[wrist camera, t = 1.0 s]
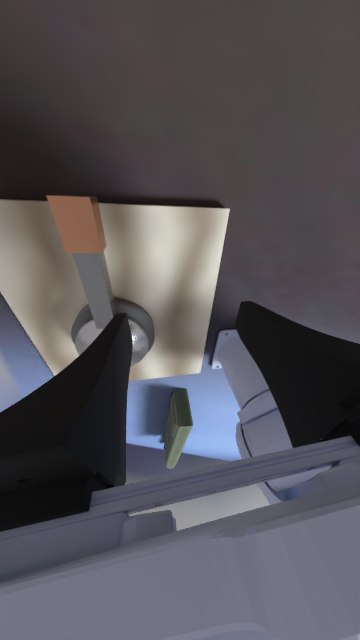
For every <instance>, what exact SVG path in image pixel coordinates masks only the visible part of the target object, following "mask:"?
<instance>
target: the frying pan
mask: <svg viewBox="0 0 360 640" xmlns="http://www.w3.org/2000/svg"><path fill="white" fill-rule="evenodd" d="M46 197H47V200H48V203H49V205H50V208H51V211H52V214H53V217H54V220H55V223H56V226H57V229H58V232H59V235H60V237H61V240H62V243H63V246H64V249H65V252H66V253H72V254H73V257H74V260H75V263H76V266H77V269H78V273H79V276H80V279H81V282H82V285H83V288H84V291H85V294H86V297H87V301H88V304H89V307H90V310H91V313H92V316H93V317H92V318H90V319H88V320H87V321H86V322H84V323H83V325H82V326H81V327H80V329H79V331H78V334H77V336H76V338H75V348H76V351H77V352H78V354H79V355H80V354H81V353H83V352H84V351H85V350H86V349H87V348H88V346H89V345H90V344H91V343H92V342H93V341H94V340H95V339H96V338H97V337H98V335H99V334H100V333H101V332H102V331H103V329H104V328H105V327H106V326H107V324H108V323H109V322H110V321H111V319H112V318H113V317H114V316H115V314H117V311H116V306H115V302H114V297H113V292H112V288H111V283H110V278H109V274H108V269H107V264H106V260H105V255H104V249H105V248H106V247H107V245H106V240H105V235H104V230H103V225H102V220H101V215H100V210H99V205H98V200H97V196H76V195H46ZM127 317H128V316H127ZM128 321H129V325H130V329H131V334H132V338H133V349H132V360H131V366H133V365H135V364H137V363H139V362H140V361H141V360H142V359H143V358H144V357H145V356H146V354H147V352H148V334H147V332H146V330H145V328H144V327H143V326H142V325H141V324H140V323H139V322H138V321H136V320H135V319H133V318H131V317H128Z"/></svg>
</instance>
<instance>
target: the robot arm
mask: <svg viewBox="0 0 360 640" xmlns="http://www.w3.org/2000/svg"><path fill="white" fill-rule="evenodd" d="M235 328H236V329H233V330H222V331H220V332H219V334H218V339H217V343H216V347H215V352H214V356H213V360H212V364H211V367H212V369H218V368H223V371H224V373H225V375H226V377H227V380H228V382H229V384H230V386H231V389H232V391H233V393H234V396H235V398H236V400H237V402H238V405H239V407H240V409H241V411H239V412H238V413H237V414H238V416H239V419H240V422H238V423H237V426H236V441H237V446H238V449H239V452H240V455H241V457H242V459H241V460H237V461H232V462H228V463H223V464H218V465H214V466H209V467H204V468H200V469H195V470H191V471H186V472H182V473H177V474H172V475H168V476H164V477H159V478H154V479H150V480H145V481H140V482H136V483H131V484H127V485H124V484H125V482H126V408H127V389H128V381H129V374H130V367H131V360H132V349H133V338H132V334H131V329H130V325H129V321H128V317H127V313H119V314H115V316H114V317H113V318H112V319H111V321H110V322H109V323H108V324H107V326H106V327H105V328H104V329H103V331H102V332H101V333H100V334H99V335H98V337H97V338H96V339H95V340H94V341H93V342H92V343H91V344H90V345H89V346H88V348H87V349H86V350H85V351H84V352H83V353H81V354H80V355H79V356H78V357H77V358H76V359H75V360H74V361H73V362H72V363H70V364H69V365H68V366H67V367H66V368H64V369H63V370H62V371H60V372H59V373H58V374H57V375H55V376H54V377H53V378H52V379H50V380H49V381H48V382H46V383H45V384H43V385H42V386H41V387H39V388H38V389H36V390H35V391H33V392H32V393H30V394H29V395H27V396H26V397H25V398H23V399H21V400H20V401H18V402H17V403H15V404H14V405H12V406H10V407H9V408H7V409H5V410H4V411H2V412H1V413H0V640H360V344H358V343H354V342H350V341H347V340H343V339H340V338H337V337H333V336H330V335H327V334H324V333H321V332H318V331H316V330H313V329H310V328H308V327H305V326H303V325H300V324H298V323H296V322H293V321H291V320H289V319H287V318H285V317H283V316H281V315H278V314H276V313H274V312H272V311H270V310H268V309H266V308H264V307H262V306H260V305H258V304H256V303H254V302H251V301H245V302H241V304H240V308H239V312H238V316H237V321H236V325H235ZM253 484H257V485H258V487H259V488H260V489H261V490H262V492H263V493H264V495H265V496H266V498H267V500H268V502H269V504H270V505H269V506H265V507H261V508H257V509H254V510H250V511H246V512H243V513H239V514H236V515H232V516H228V517H225V518H222V519H218V520H214V521H211V522H207V523H204V524H200V525H197V526H193V527H190V528H186V529H183V530H179V531H176V520H175V518H174V517H173V516H172V512H171V511H170V510H166V511H159V512H152V513H145V514H140V515H135V516H131V517H130V516H129V515H128V514H132V513H136V512H140V511H144V510H148V509H153V508H156V507H160V506H165V505H169V504H174V503H178V502H182V501H186V500H190V499H194V498H198V497H203V496H207V495H211V494H215V493H219V492H223V491H228V490H232V489H236V488H240V487H244V486H249V485H253Z"/></svg>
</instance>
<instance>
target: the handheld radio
mask: <svg viewBox="0 0 360 640" xmlns="http://www.w3.org/2000/svg"><path fill="white" fill-rule="evenodd" d="M192 426H193V422H192V416H191V410H190V404H189V399H188V393H187V389H176V390H174V393H173V394H172V396H171V401H170V405H169V415H168V419H167V423H166V428H165V432H164V450H165V465H166V466H167V467H168V468H174V466H175V465H176V463H177V461H178V458H179V456H180V454H181V452H182V449H183V447H184V445H185V442H186V440H187V438H188V435H189V433H190V431H191V428H192Z"/></svg>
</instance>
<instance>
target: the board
mask: <svg viewBox="0 0 360 640" xmlns="http://www.w3.org/2000/svg"><path fill="white" fill-rule="evenodd" d="M98 205H99V210H100V215H101V220H102V225H103V230H104V235H105V240H106V245H107V247H106V248H105V249H104V255H105V260H106V264H107V269H108V274H109V278H110V283H111V288H112V292H113V297H114V302H115V306H116V311H117V314H119V313H127V316H128V317H131V318H133V319H135V320H136V321H138V322H139V323H140V324H141V325H142V326H143V327H144V328H145V330H146V332H147V334H148V352H147V354H146V356H145V357H144V358H143V359H142V360H141V361H140V362H139V363H137V364H135V365H133V366H131V367H130V374H129V381H135V380H143V379H152V378H161V377H169V376H178V375H187V374H195V373H200V371H201V365H202V360H203V354H204V349H205V343H206V338H207V332H208V327H209V321H210V316H211V310H212V304H213V299H214V293H215V288H216V282H217V277H218V271H219V266H220V260H221V255H222V249H223V244H224V238H225V232H226V227H227V221H228V216H229V210H230V209H228V208H213V207H188V206H162V205H137V204H111V203H98ZM0 292H1V294H2V295H3V297H4V298H5V300H6V301H7V303H8V304H9V306H10V308H11V309H12V311H13V312H14V314H15V315H16V317H17V318H18V320H19V321H20V323H21V325H22V326H23V328H24V329H25V331H26V332H27V334H28V335H29V337H30V338H31V340H32V342H33V343H34V345H35V346H36V348H37V349H38V351H39V352H40V354H41V355H42V357H43V359H44V360H45V362H46V363H47V365H48V366H49V368H50V369H51V371H52V372H53V374H54V376H55V375H57V374H58V373H59V372H60V371H62V370H63V369H64V368H66V367H67V366H68V365H69V364H70V363H72V362H73V361H74V360H75V359H76V358H77V357H78V356H79V354H78V352H77V351H76V348H75V338H76V336H77V334H78V331H79V329H80V327H81V326H82V325H83V323H84V322H86V321H87V320H88V319H90V318H92V317H93V316H92V313H91V310H90V307H89V304H88V301H87V297H86V294H85V291H84V288H83V285H82V282H81V279H80V276H79V273H78V269H77V266H76V263H75V260H74V257H73V254H72V253H66V252H65V249H64V246H63V243H62V240H61V237H60V235H59V232H58V229H57V226H56V223H55V220H54V217H53V214H52V211H51V208H50V205H49V203H48V201H35V200H9V199H0Z"/></svg>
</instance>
